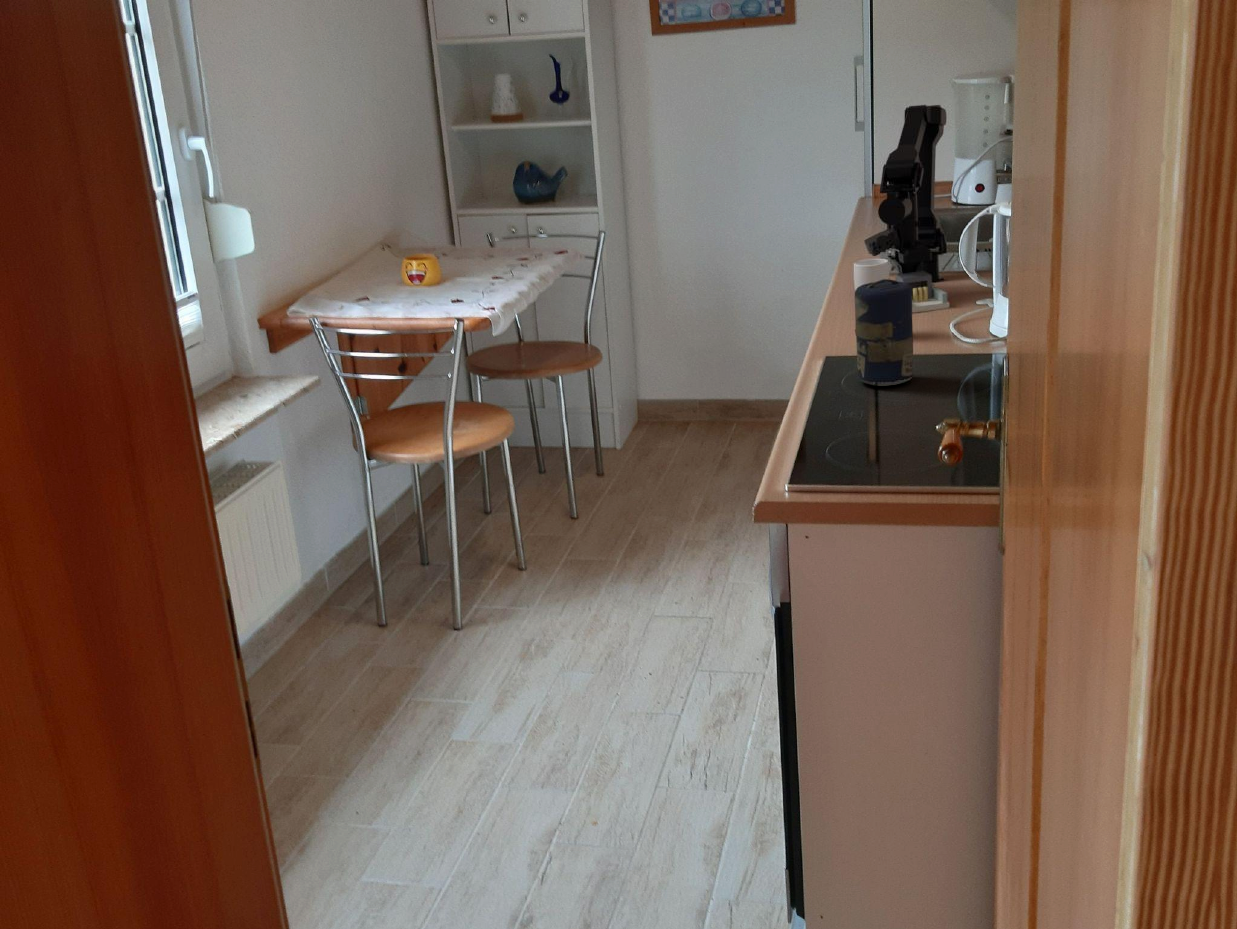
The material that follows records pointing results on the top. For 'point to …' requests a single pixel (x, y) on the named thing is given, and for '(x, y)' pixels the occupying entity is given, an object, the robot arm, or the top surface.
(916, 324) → the top surface
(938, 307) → the board
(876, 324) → the canister
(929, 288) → the grey block
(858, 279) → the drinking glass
